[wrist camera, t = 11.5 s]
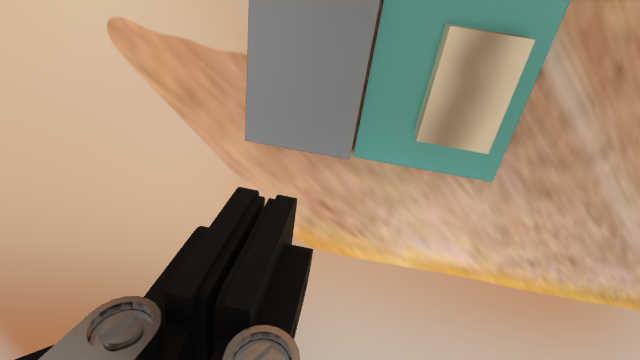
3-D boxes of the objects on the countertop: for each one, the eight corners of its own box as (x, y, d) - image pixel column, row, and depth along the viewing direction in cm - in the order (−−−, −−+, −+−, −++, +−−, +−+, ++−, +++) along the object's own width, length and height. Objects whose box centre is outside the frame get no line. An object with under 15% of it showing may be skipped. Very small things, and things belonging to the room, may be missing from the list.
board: (393, -73, 26) (395, -78, 24) (350, 151, 34) (349, 159, 33) (259, -92, 26) (251, -98, 24) (251, 133, 35) (244, 140, 33)
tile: (525, 36, 27) (535, 39, 25) (481, 144, 31) (488, 154, 29) (445, 23, 27) (450, 25, 25) (414, 132, 31) (416, 141, 30)
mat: (581, -47, 25) (590, -48, 24) (488, 175, 34) (492, 181, 33) (398, -73, 26) (398, -75, 24) (353, 151, 34) (353, 156, 33)
